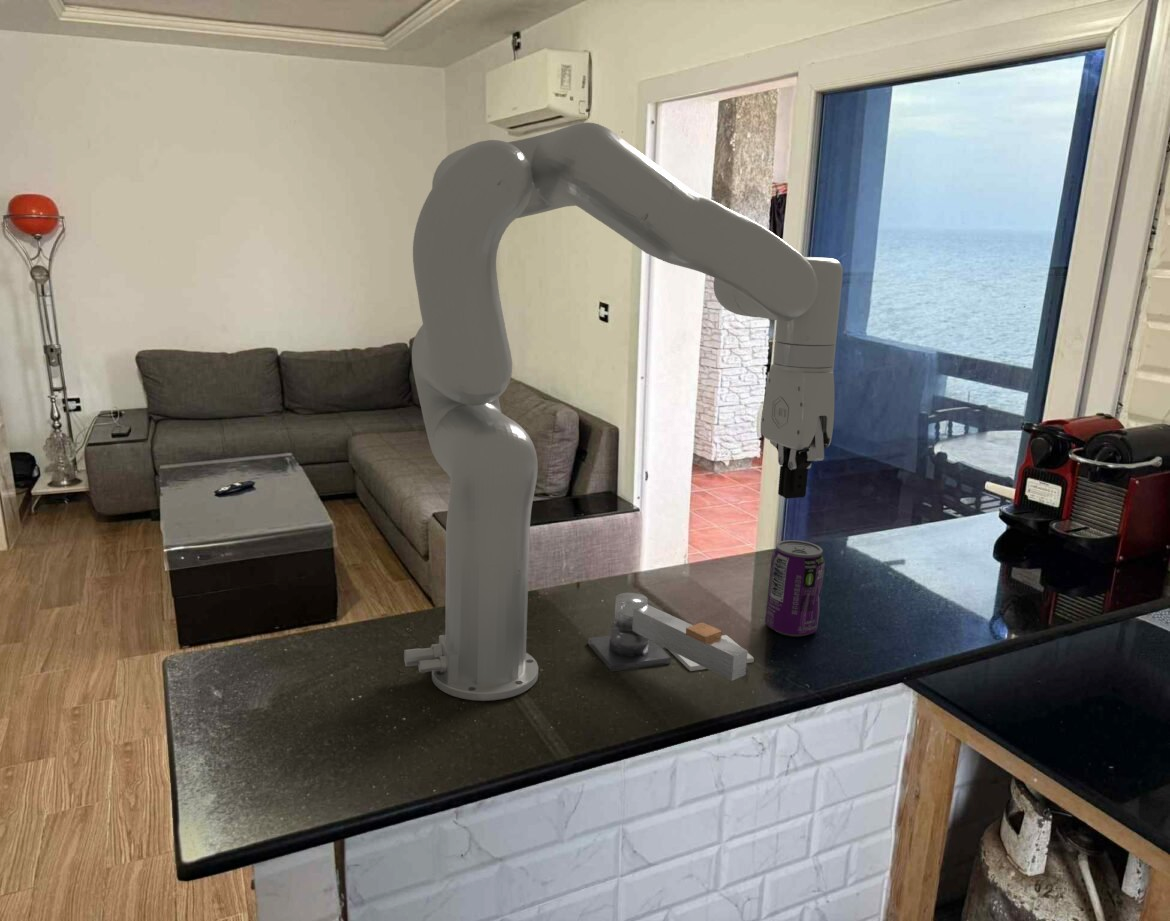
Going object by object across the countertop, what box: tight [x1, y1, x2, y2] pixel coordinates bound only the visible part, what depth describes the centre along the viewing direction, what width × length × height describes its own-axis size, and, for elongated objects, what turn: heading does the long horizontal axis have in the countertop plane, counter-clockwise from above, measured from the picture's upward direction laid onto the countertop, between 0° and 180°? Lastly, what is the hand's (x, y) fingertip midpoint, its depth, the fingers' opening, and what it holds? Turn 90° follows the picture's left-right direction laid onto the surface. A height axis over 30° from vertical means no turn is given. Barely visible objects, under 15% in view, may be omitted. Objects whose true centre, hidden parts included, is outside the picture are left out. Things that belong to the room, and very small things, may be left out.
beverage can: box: [764, 539, 826, 638], centre depth 119 cm, size 7×7×12 cm
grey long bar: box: [613, 592, 749, 682], centre depth 103 cm, size 20×4×4 cm, turn 41°
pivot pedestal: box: [587, 622, 671, 673], centre depth 110 cm, size 8×8×4 cm
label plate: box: [667, 634, 755, 672], centre depth 111 cm, size 9×7×1 cm
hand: (791, 495), depth 114 cm, fingers closed
